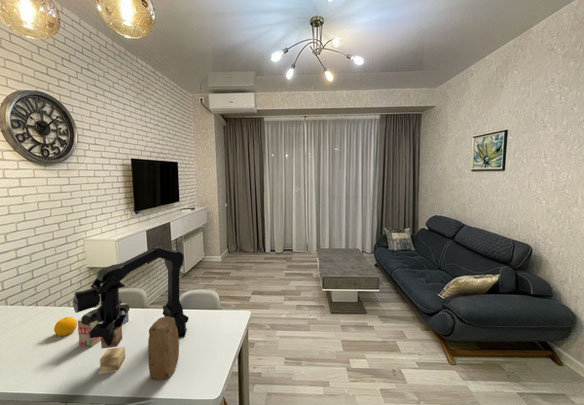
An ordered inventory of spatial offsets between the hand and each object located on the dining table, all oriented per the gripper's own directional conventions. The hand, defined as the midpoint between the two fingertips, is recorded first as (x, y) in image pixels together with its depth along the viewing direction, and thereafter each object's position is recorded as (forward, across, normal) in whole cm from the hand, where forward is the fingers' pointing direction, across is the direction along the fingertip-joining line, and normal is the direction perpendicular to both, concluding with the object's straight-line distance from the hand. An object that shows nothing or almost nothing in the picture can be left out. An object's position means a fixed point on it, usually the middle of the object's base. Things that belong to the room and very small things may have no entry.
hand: (112, 340), depth 97 cm
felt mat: (+10, -2, +2) cm, 11 cm away
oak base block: (+10, 0, 0) cm, 10 cm away
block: (+10, +7, +20) cm, 24 cm away
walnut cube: (+1, 0, 0) cm, 1 cm away
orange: (+11, -29, -31) cm, 44 cm away
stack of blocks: (+11, -25, -13) cm, 30 cm away
